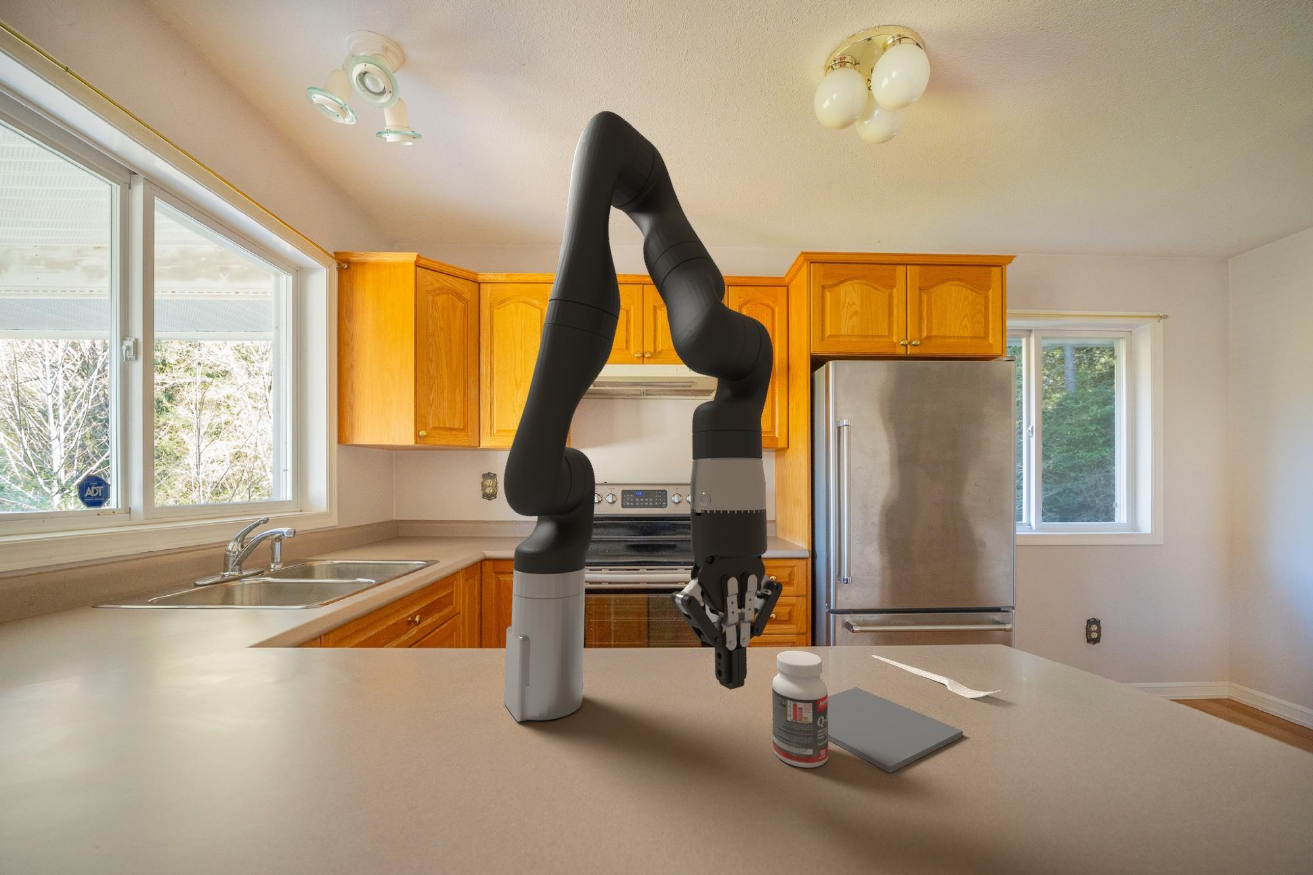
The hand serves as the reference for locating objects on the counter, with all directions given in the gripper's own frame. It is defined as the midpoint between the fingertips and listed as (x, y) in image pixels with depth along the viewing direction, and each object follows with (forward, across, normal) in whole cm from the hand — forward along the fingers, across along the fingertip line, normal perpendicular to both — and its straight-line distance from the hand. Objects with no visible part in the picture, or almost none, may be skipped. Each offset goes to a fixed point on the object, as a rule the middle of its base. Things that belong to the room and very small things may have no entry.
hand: (731, 685), depth 48 cm
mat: (+9, -22, 0) cm, 23 cm away
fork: (+10, -43, -5) cm, 44 cm away
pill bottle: (+9, -10, 0) cm, 13 cm away
